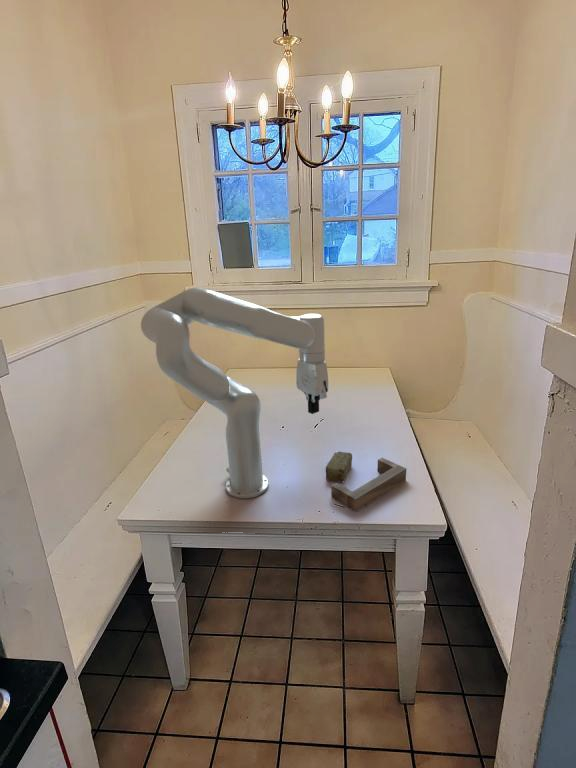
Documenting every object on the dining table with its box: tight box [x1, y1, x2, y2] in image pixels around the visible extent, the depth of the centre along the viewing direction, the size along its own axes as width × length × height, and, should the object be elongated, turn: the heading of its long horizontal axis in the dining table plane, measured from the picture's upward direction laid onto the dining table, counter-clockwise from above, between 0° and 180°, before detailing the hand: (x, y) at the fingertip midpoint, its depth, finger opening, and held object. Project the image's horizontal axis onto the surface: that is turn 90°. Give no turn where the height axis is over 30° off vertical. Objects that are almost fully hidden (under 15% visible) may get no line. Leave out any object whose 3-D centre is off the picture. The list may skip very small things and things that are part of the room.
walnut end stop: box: [330, 457, 407, 513], centre depth 130 cm, size 9×22×4 cm, turn 130°
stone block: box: [325, 451, 353, 484], centre depth 138 cm, size 6×12×5 cm, turn 159°
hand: (313, 412), depth 141 cm, fingers closed
